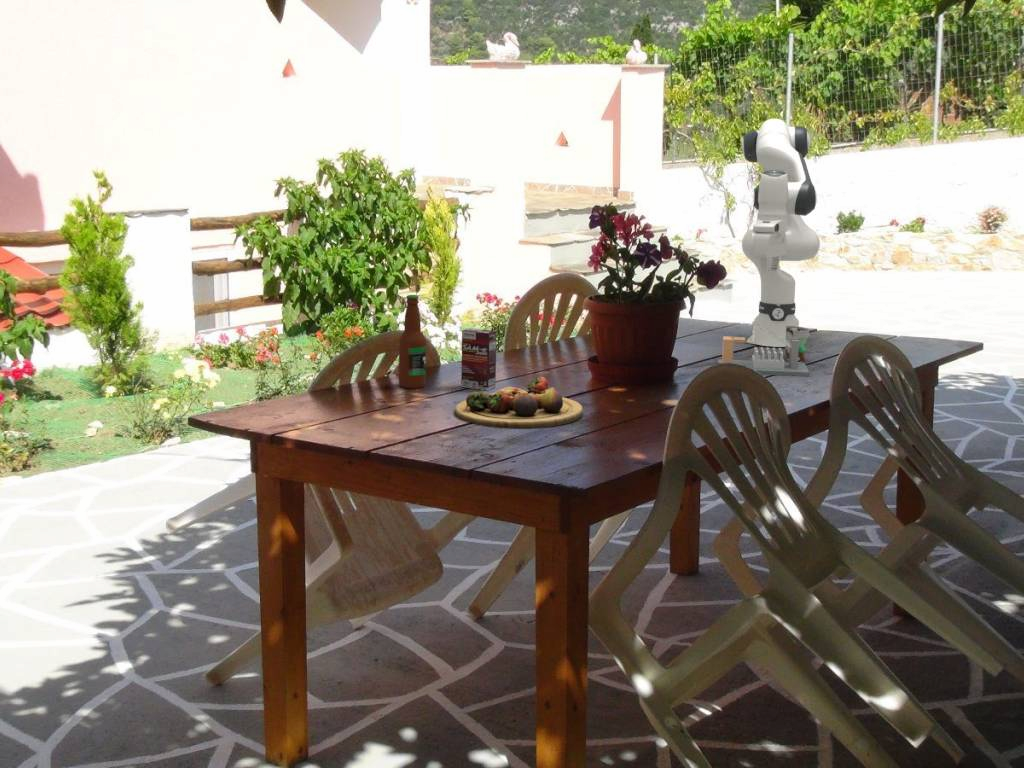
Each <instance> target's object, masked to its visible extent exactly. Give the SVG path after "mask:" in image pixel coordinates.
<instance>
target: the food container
mask: <svg viewBox="0 0 1024 768" xmlns="http://www.w3.org/2000/svg"><path fill="white" fill-rule="evenodd" d="M809 337H810V331H809V329H808V328H806V327H804V326H803V327H802V326H799V327H796V326H786V340H787V341H788V342H790V340H791V338H798V340H799V351H798V362H800V361H804V362H805V357H806V349H807V343H808V342H807V341H808V338H809ZM784 348H785V353H784V357H786V358H787V359H789V356H790V347H788V346H786V347H784ZM786 358H785V359H786ZM787 359H786V360H787ZM800 363H801V362H800Z"/></svg>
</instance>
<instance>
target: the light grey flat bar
mask: <svg viewBox="0 0 1024 768" xmlns="http://www.w3.org/2000/svg"><path fill="white" fill-rule="evenodd" d="M752 323H753V322H752ZM753 325H754V326H756V327H757V328H759V329H760V330H762V331H764V332H765V333H767V334H769V335H770V336H772V337H773V338H775V339H777V340H778V341H780V342H782V343H783V344H785V345H786V346H788V347H790V348H792V344H791V343H790V342H788V341H787V340H785V339H783V338H782V337H780V336H778V335H777V334H775V333H774V332H772V331H770V330H769V329H767V328H766V327H764V326H762V325H761V324H759V323H757V322H756V321H755V322H754V323H753Z"/></svg>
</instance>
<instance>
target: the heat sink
mask: <svg viewBox="0 0 1024 768" xmlns="http://www.w3.org/2000/svg"><path fill="white" fill-rule="evenodd" d="M790 343H791V344H792V348H790V356H789V361H785V358H784V352H783V350H782V347H778V349H776V347H772V352H771V350H770V347H766V348H765V349H766V350H764V348H763V347H760V348H759V351H758V347H757V346H756V347H755V346H754V347H753V354H751V360H743V359H733V362H734V363H739V364H743V365H746V366H749V367H751V368H753V369H754V370H756V371H757V372H759V373H761V374H763V375H764V374H766V375H765V376H786V375H793V377H810V371H809V369H808V367H807V365H806V364H805V362H800V363H798V351H799V340H798V338H791V340H790ZM718 363H722V359H717V364H718ZM761 374H760V375H761ZM794 375H795V376H794Z"/></svg>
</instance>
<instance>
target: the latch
mask: <svg viewBox="0 0 1024 768" xmlns="http://www.w3.org/2000/svg"><path fill="white" fill-rule="evenodd" d="M735 343H742V344H743V343H744V344H745V343H746V344H747V340H746V337H745V336H744V337H743V336H722V355H721V360H722V363H727V362H731V363H733V360H734V345H735Z"/></svg>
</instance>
